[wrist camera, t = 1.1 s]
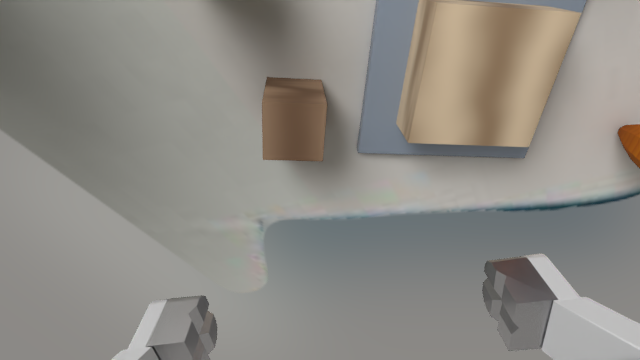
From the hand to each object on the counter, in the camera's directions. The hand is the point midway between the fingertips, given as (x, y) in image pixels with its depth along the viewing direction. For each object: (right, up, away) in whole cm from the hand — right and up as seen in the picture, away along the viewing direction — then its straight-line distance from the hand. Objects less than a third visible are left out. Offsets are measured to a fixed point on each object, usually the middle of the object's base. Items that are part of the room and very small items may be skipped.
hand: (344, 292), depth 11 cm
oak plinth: (+11, +13, +20) cm, 26 cm away
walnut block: (-3, +10, +21) cm, 24 cm away
